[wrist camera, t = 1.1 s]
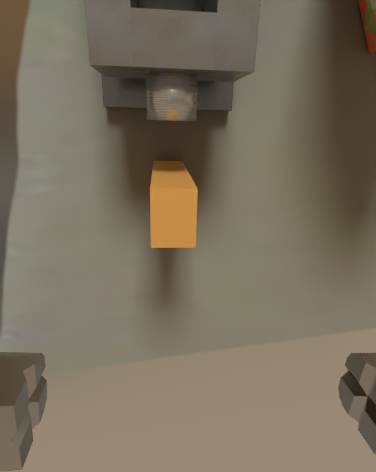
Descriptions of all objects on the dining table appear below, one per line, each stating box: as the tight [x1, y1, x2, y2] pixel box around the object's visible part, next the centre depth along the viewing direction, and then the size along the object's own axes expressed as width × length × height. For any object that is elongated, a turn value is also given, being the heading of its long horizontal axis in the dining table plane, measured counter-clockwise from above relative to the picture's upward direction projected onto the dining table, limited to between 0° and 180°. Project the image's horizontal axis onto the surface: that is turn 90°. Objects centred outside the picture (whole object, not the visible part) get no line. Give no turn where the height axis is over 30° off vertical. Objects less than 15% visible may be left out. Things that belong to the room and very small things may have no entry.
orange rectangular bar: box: [150, 161, 198, 248], centre depth 27 cm, size 3×4×14 cm
